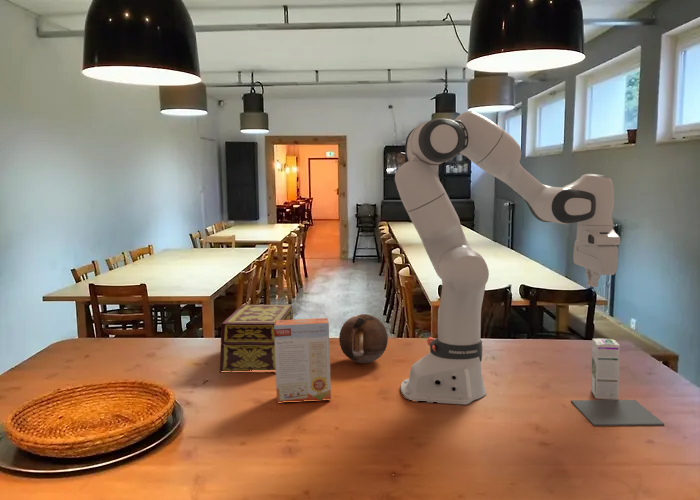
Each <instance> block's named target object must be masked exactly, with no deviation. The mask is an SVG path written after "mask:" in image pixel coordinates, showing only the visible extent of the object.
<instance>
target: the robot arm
mask: <svg viewBox="0 0 700 500" xmlns="http://www.w3.org/2000/svg"><path fill="white" fill-rule="evenodd" d="M404 151H405V152H404V163H403V164H401V166H400V167H399V168H397V170H396V171H395V175H394V182H395V185H396V190H397V191H398V194H399V198H400V200H401V202H402V204H403V207H404V209H405V211H406V213H407V214H408V216H409V219H410V220H411V222H412V224H413V226H414V228H415V231H416V232H417V234H418V236H419V238H420V239H421V243H422V245H423V247H424V249H425V251H426V254H427V256H428V258H429V261H430V262H431V265H432V267H433V269H434V271H435V273H436V275H437V276H438V278H439V279H440V280H441V294H440V300H439V307H438V309H437V337H436V338H435V339H434V337H432V336H429V337H427V339H426V343H427V345H428V346H429V350H430V352H428V353H427V354H425V355H424V356H422V357H421V358H420V359H419V360H417V361H416V362H414V363H413V364H412V366H411V368H410V371H409V375H408V378H405V379H404V380H403V381H402V382H401V384H400V393H401V392H402V393H401V395H402V394H403V395H404V396H405V397H406V398H408V399H410V400H415V401H414V402H418V401H427V402H426V403H433V402H437V403H436V404H451V405H452V404H453V405H465V406H466V405H469V404H470V403H472V402H474V401H475V400H478V399H481V398H482V397H484V396H485V395H486V394H487V389H486V387H485V383H484V379H483V372H482V360H483V359H482V358H483V341H482V339H481V325H482V324H481V322H482V321H481V320H482V319H481V318H482V307H483V302H484V301H483V300H484V296H485V290H486V285H487V282H488V280H489V275H490V273H489V268H488V264H487V262H486V260H485V259H484V257H483V256H482V255H481V254H480V253H479V252H476V250H473V249H472V247H470V244H469V243H468V240H467V238H466V234H465V233H464V231H463V227H462V224H461V221H460V218H459V216H458V213H457V211H456V210H455V209H456V208H454V206H453V204H452V201H451V200H450V197H449V195H448V193H447V192H446V189H445V188H444V186H443V184H442V183H441V182H442V181H440V179H441V178H440V176H439V165H441V164H443V163H445V162H449V161H450V160H452V159H454V158H455V157H457V156H458V155H459V154H460V155H462V156H464V157H466V158H467V159H468V160H470V161H471V163H473V164H475V165H476V166H477V167H479V168H480V169H482V170H483V171H484V172H485V173H487V174H489V175H490V176H493V177H495V178H496V179H498V180H500V181H501V182H503V183H504V184H505V185H506V186H508V188H510V189H511V190H512V191H513V192H514V193H515V194H517V195H518V196H519V197H520V198H521V199H522V201H524V202H525V203H526V205H527V207H528V209H529V211H530V212H531V214H532V215H533V217H534V218H535V219H536V220H538V221H540V222H542V223H555V224H561V225H570V224H574V223H577V224H576V225H577V226H576V239H575V241H574V245H573V257H572V259H573V263H574V265H577V266H580V267H582V268H584V270H585V275H586V279H587V280H586V284H587V285H588V286H590V287H592V288H597V287H599V281H600V279H601V276H614V275H616V272H617V270H618V264H619V263H618V262H619V248H618V246H620V245H621V237H620V236H619V235H618V233H616V231H615V229H614V221H613V212H614V208H615V188H614V183H613V180H612V179H611V178H610V177H609V176H606V175H603V174H594V173H585V174H582V175H581V176H580V177H579V178H578V179H577V180H574V181H573V182H571V183H569V184H566V185H564V186H562V187H561V186H560V187H559V186H551V185H546V184H543V183H541V181H539V180H538V179H536V178H535V177H534V176H533V175H532V174H531V173H530V172H529V171H528V170H526V169H525V168H524V167H523V166H522V164H521V163H520V161H521V156H522V150H521V146H520V144H519V143H518V142H517V141H516V139H514V137H513V136H512V135H511V134H510V133H509V132H507V131H506V130H505V129H504V128H502V127H501V126H499V125H498V124H497V123H495V122H494V121H492V120H491V119H489V118H487V117H486V116H484V115H482V114H480V113H478V112H477V111H473V110H467V111H464V112H462V113H461V114H459V115H458V116H456V118H454V119H449V118H445V117H444V118H443V117H442V118H440V117H439V118H438V117H437V118H434V119H430V120H427V121H424V122H422V123H420V124H419V125H417V126H416V127H414V128H413V129H412V130H411V131H409V133H408V135H407V136H406V139H405V143H404ZM403 395H402V396H403ZM404 396H403V397H404ZM405 397H404V398H405ZM406 398H405V399H406Z"/></svg>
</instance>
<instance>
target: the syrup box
mask: <svg viewBox="0 0 700 500" xmlns="http://www.w3.org/2000/svg"><path fill="white" fill-rule="evenodd" d="M591 341H592V343H591V345H592V347H591V375H590V379H591V381H590V391H591V393H592V394H593V396H594V398H595V400H619V391H620V360H621V359H620V356H621V355H620V353H621V352H620V351H621V345H620V344H619V343H618V342H617V341H616V340H615V339H614V338H599V337H598V338H592V340H591Z"/></svg>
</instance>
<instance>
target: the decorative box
mask: <svg viewBox="0 0 700 500" xmlns="http://www.w3.org/2000/svg"><path fill="white" fill-rule="evenodd" d="M276 320H294V313H293V305H292V304H242V305H241V306H239V307H238V308H237V309H236V310H235V311H234V312H233V313H232V314H231V315H229V316H228V317H227V318H226V319H225V320H224V321H223V322H222V323H221V330H220V359H219V371H220V370H221V371H250V370H251V371H252V370H276V366H275V338H274V325H275V321H276Z"/></svg>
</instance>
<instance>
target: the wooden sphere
mask: <svg viewBox="0 0 700 500" xmlns="http://www.w3.org/2000/svg"><path fill="white" fill-rule="evenodd" d="M338 339H339V340H338V342H339V346H340V349H341V351H342V352H343V354H344V355H345V357H347V358H348V359H349V360H350V361H353V362H355V363H357V364H358V363H359V364H369V362H370V363H373V362H374V361H376V360H378V359H379V358H380V357H382V356H383V355H384V353H385V351H386V349H387V346H388V342H389V340H388V339H389V337H388V332H387V329H386V327H385V325H384V323H383V322H382V321H381V319H379V318H378V317H376V316H373V315H371V314H367V313H361V314H360V313H359V314H356V315H353V316H351V317H350V318H348V319H347V320H346V321H345V322H344V323H343V325H342V327H341V329H340V332H339V337H338Z"/></svg>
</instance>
